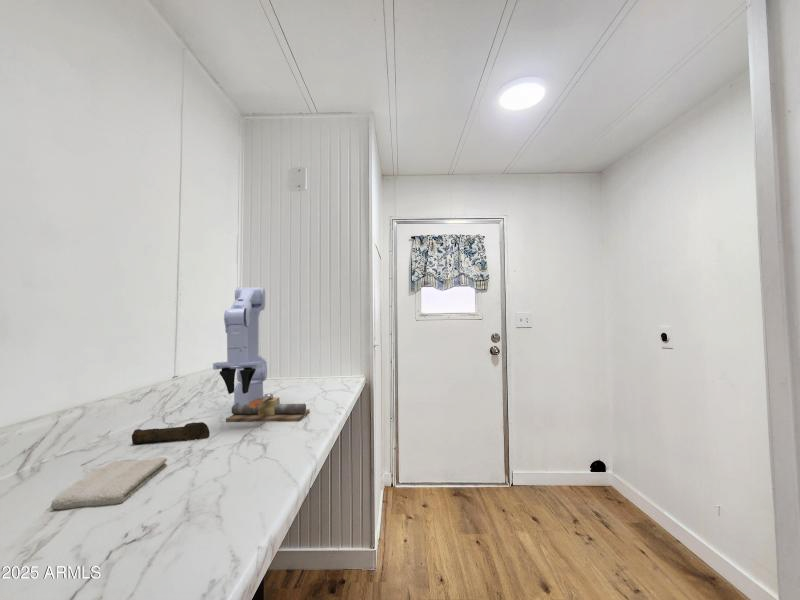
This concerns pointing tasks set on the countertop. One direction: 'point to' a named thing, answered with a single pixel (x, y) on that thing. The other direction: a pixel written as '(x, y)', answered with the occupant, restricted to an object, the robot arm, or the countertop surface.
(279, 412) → the valve board
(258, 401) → the valve lever
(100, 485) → the washcloth
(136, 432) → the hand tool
